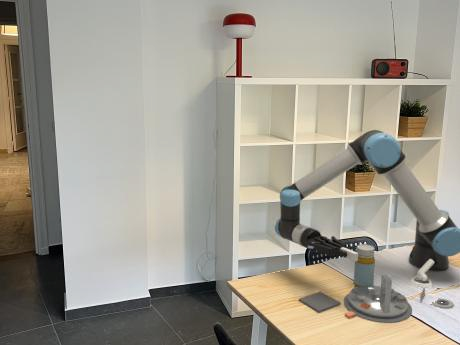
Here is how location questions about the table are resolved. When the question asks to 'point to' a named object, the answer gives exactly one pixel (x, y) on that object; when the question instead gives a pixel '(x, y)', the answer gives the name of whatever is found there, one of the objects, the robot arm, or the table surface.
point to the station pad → (319, 302)
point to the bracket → (438, 301)
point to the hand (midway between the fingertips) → (356, 257)
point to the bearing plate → (391, 320)
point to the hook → (423, 275)
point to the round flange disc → (378, 300)
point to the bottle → (364, 266)
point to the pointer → (350, 315)
